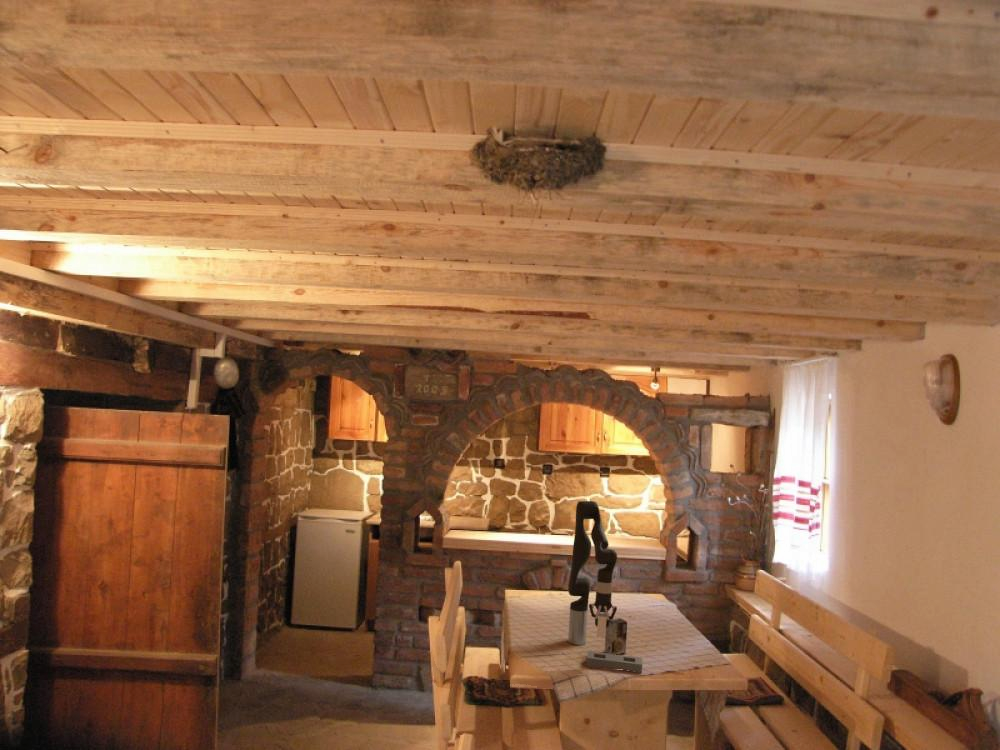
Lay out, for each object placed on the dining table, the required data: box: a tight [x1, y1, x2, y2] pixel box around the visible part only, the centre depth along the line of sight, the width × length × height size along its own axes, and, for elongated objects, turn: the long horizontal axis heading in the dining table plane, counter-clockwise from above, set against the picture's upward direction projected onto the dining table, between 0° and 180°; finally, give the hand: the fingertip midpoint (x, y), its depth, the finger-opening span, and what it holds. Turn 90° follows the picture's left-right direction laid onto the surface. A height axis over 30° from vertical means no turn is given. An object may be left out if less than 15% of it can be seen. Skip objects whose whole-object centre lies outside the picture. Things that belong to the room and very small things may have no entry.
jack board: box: [585, 650, 643, 674], centre depth 364 cm, size 10×26×4 cm, turn 80°
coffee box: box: [604, 617, 628, 655], centre depth 385 cm, size 9×6×16 cm
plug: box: [596, 612, 607, 639], centre depth 366 cm, size 4×4×11 cm
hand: (601, 626), depth 366 cm, fingers closed on plug, 4 cm apart
